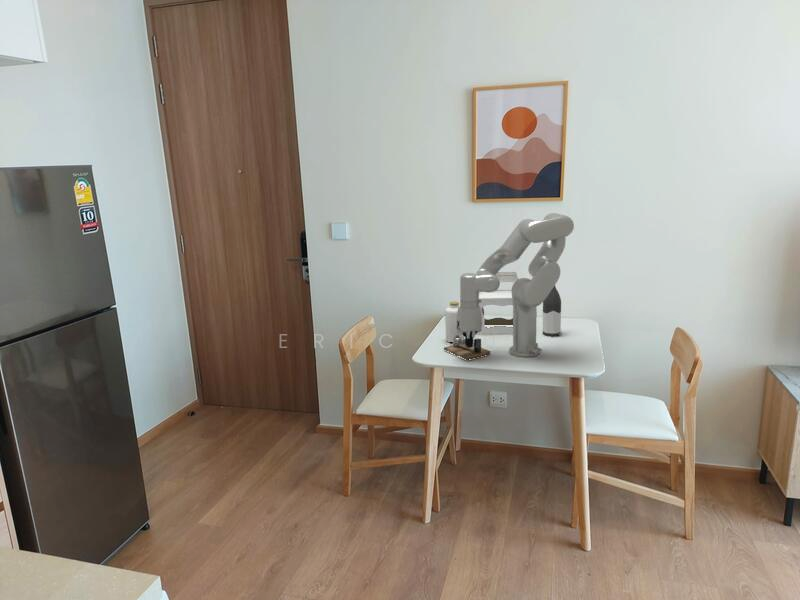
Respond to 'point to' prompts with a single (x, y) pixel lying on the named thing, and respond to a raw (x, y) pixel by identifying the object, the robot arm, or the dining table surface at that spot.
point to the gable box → (501, 300)
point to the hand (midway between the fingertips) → (469, 346)
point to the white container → (451, 321)
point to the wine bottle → (552, 314)
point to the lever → (461, 343)
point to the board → (466, 351)
